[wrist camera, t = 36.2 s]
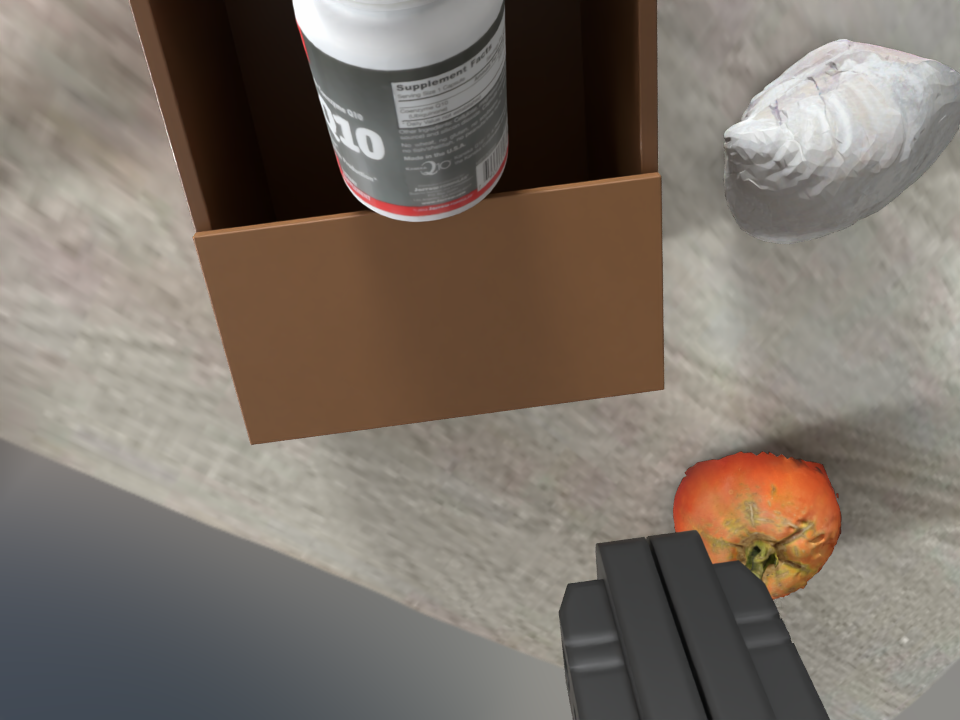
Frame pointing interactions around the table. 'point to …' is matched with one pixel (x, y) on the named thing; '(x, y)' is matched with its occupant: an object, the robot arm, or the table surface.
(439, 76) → the pill bottle
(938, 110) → the pebble
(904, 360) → the table surface
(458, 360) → the flap
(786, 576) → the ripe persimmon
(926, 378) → the table surface
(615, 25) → the carton
